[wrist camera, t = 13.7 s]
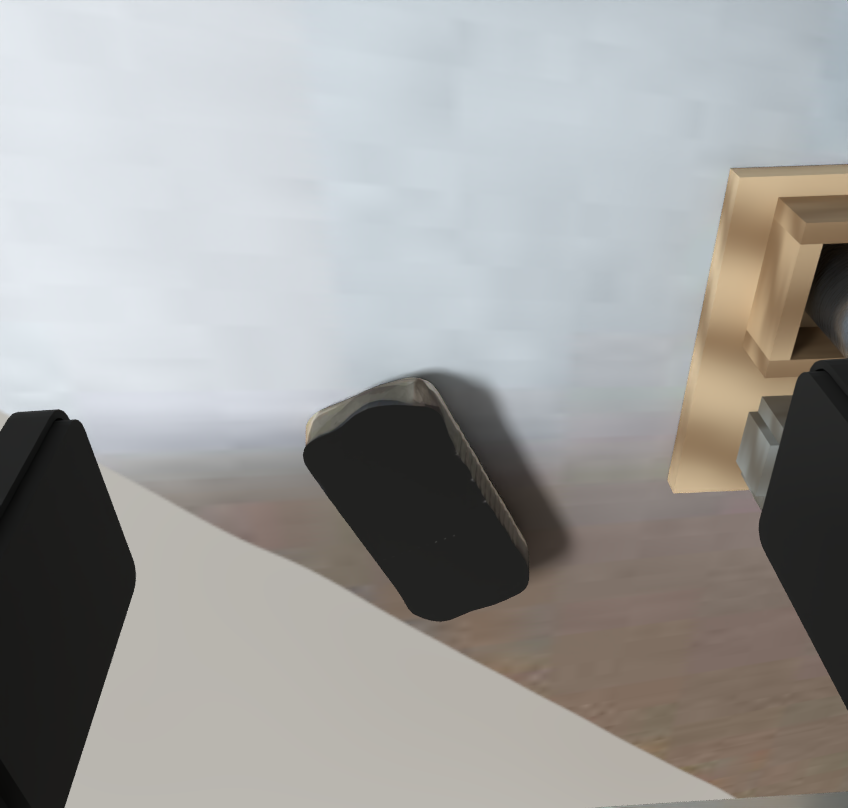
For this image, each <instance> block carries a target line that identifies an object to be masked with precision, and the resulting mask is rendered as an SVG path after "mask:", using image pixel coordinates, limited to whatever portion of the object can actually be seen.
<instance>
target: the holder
mask: <svg viewBox="0 0 848 808" xmlns="http://www.w3.org/2000/svg"><path fill="white" fill-rule="evenodd" d="M833 243H848V164H844V165H815V166H787V167H758V168H731V169H730V174H729V178H728V183H727V188H726V193H725V198H724V203H723V208H722V213H721V218H720V223H719V228H718V233H717V238H716V243H715V248H714V253H713V258H712V262H711V267H710V272H709V277H708V282H707V287H706V292H705V297H704V302H703V307H702V312H701V317H700V322H699V327H698V332H697V337H696V342H695V347H694V351H693V356H692V361H691V366H690V371H689V376H688V381H687V386H686V391H685V396H684V401H683V406H682V411H681V416H680V421H679V426H678V431H677V436H676V440H675V445H674V450H673V455H672V460H671V465H670V470H669V475H668V482H669V484H670V487H671V489H672V491H673V493H692V492H714V491H736V490H750V491H751V493H752V495H753V497H754V499H755V500H756V502H757V504H758V506H759V507H760V509H761V510H762V509H763V505H764V501H765V497H766V494H767V490H768V486H769V482H770V479H771V475H772V471H773V467H774V463H775V460H776V456H777V452H778V448H779V445H780V441H781V437H782V433H783V429H784V426H785V422H786V418H787V414H788V411H789V407H790V403H791V399H792V395H793V392H794V388H795V384H796V381H797V379H798V377H799V375H800V374H801V373H803V372H809V371H810V368H811V366H812V365H813V364H814V363H815V362H816V361H819V360H827V359H843V358H845V357H844V356H843V355H842V353H841V352H840V351H839V350H838V349H837V348H836V347H835V345H834V344H833V343H832V342H831V341H830V340H829V338H828V337H827V336H826V335H825V334H824V333H823V331H822V330H821V329H820V328H819V327H818V326H817V325H816V323H815V322H814V321H813V320H812V319H811V318H810V316H809V315H808V314H807V313H806V312H805V311H804V309H805V306H806V302H807V299H808V295H809V292H810V288H811V285H812V281H813V278H814V274H815V271H816V267H817V264H818V260H819V257H820V253H821V250H822V246H823V244H833Z"/></svg>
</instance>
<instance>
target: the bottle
mask: <svg viewBox="0 0 848 808" xmlns="http://www.w3.org/2000/svg"><path fill="white" fill-rule="evenodd" d="M804 311H805V312H806V313H807V314H808V315H809V316H810V318H811V319H812V320H813V321H814V322H815V323H816V325H817V326H818V327H819V328H820V329H821V330H822V331H823V333H824V334H825V335H826V336H827V337H828V338H829V340H830V341H831V342H832V343H833V344H834V345H835V347H836V348H837V349H838V350H839V351H840V352H841V353H842V355H843V356H844V357H845V358H848V243H833V244H823V246H822V250H821V253H820V257H819V260H818V264H817V267H816V271H815V274H814V278H813V281H812V285H811V288H810V292H809V295H808V299H807V302H806V306H805V309H804Z"/></svg>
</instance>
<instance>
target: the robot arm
mask: <svg viewBox="0 0 848 808" xmlns="http://www.w3.org/2000/svg"><path fill="white" fill-rule="evenodd" d="M759 536H760V541H761V544H762V547H763V549H764V551H765V553H766V555H767V557H768V559H769V561H770V563H771V565H772V566H773V568H774V570H775V572H776V574H777V576H778V578H779V580H780V582H781V584H782V586H783V587H784V589H785V591H786V593H787V595H788V597H789V599H790V601H791V603H792V605H793V607H794V608H795V610H796V612H797V614H798V616H799V618H800V620H801V622H802V624H803V626H804V628H805V629H806V631H807V633H808V635H809V637H810V639H811V641H812V643H813V645H814V647H815V649H816V651H817V652H818V654H819V656H820V658H821V660H822V662H823V664H824V666H825V668H826V670H827V672H828V673H829V675H830V677H831V679H832V681H833V683H834V685H835V687H836V689H837V691H838V693H839V694H840V696H841V698H842V700H843V702H844V704H845V706H846V708H847V710H848V358H843V359H827V360H819V361H816V362H815V363H814V364H813V365H812V366H811V368H810V371H809V372H803V373H801V374H800V375H799V377H798V379H797V381H796V384H795V388H794V392H793V395H792V399H791V403H790V407H789V411H788V414H787V418H786V422H785V426H784V429H783V433H782V437H781V441H780V445H779V448H778V452H777V456H776V460H775V463H774V467H773V471H772V475H771V479H770V482H769V486H768V490H767V494H766V497H765V501H764V505H763V509H762V513H761V516H760V521H759ZM135 581H136V572H135V565H134V561H133V558H132V555H131V553H130V550H129V547H128V545H127V542H126V540H125V537H124V534H123V531H122V528H121V526H120V523H119V520H118V518H117V515H116V512H115V510H114V507H113V504H112V502H111V499H110V496H109V493H108V491H107V488H106V485H105V483H104V480H103V477H102V475H101V472H100V469H99V467H98V464H97V461H96V458H95V456H94V453H93V450H92V448H91V445H90V442H89V440H88V437H87V434H86V432H85V429H84V427H83V425H82V423H81V422H80V421H79V420H70V419H69V417H68V416H67V414H66V413H65V412H64V411H62V410H59V409H58V410H43V411H28V412H17V413H14V414H12V415H11V416H10V417H9V418H8V420H7V422H6V423H5V425H4V426H3V428H2V429H1V431H0V808H64V807H65V804H66V801H67V798H68V795H69V792H70V788H71V785H72V782H73V779H74V776H75V773H76V770H77V766H78V763H79V760H80V757H81V754H82V751H83V748H84V745H85V742H86V738H87V736H88V732H89V729H90V726H91V723H92V720H93V717H94V713H95V711H96V707H97V704H98V701H99V698H100V695H101V692H102V689H103V685H104V682H105V679H106V676H107V673H108V669H109V667H110V664H111V661H112V657H113V654H114V651H115V648H116V645H117V642H118V638H119V636H120V632H121V629H122V626H123V623H124V620H125V617H126V614H127V611H128V607H129V604H130V601H131V598H132V595H133V592H134V588H135ZM598 808H848V792H834V793H818V794H802V795H786V796H770V797H754V798H738V799H722V800H708V801H707V800H706V801H691V802H675V803H659V804H643V805H627V806H613V807H598Z"/></svg>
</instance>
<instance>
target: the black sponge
mask: <svg viewBox="0 0 848 808" xmlns="http://www.w3.org/2000/svg"><path fill="white" fill-rule="evenodd" d="M303 458H304V462H305V465H306V466H307V468H308V469H309V471H310V472H311V474H312V475H313V477H314V478H315V479H316V481H317V482H318V483H319V485H320V486H321V488H322V489H323V491H324V492H325V494H326V495H327V496H328V498H329V499H330V500H331V501H332V503H333V504H334V505H335V507H336V508H337V510H338V511H339V513H340V514H341V515H342V517H343V518H344V519H345V521H346V522H347V523H348V525H349V526H350V527H351V529H352V530H353V531H354V533H355V534H356V535H357V537H358V538H359V539H360V541H361V542H362V543H363V545H364V546H365V547H366V549H367V550H368V551H369V553H370V554H371V555H372V557H373V558H374V559H375V561H376V562H377V564H378V565H379V566H380V568H381V569H382V570H383V572H384V573H385V574H386V576H387V577H388V578H389V580H390V581H391V582H392V584H393V585H394V586H395V588H396V589H397V591H398V592H399V594H400V595H401V597H402V598H403V600H404V602H405V604H406V605H407V607H408V609H409V610H410V611H411V612H412V613H413V614H415V615H417V616H419V617H422V618H424V619H428V620H431V621H440V622H442V621H447V620H451V619H454V618H456V617H458V616H461V615H463V614H466V613H468V612H470V611H473V610H477V609H481V608H484V607H488V606H491V605H494V604H497V603H499V602H502V601H504V600H507V599H509V598H511V597H513V596H515V595H517V594H519V593H521V592H522V591H523V590H524V589H525V588H526V587H527V585H528V581H529V553H528V548H527V544H526V541H525V539H524V538H523V536H522V534H521V532H520V531H519V529H518V527H517V526H516V524H515V522H514V520H513V518H512V516H511V515H510V513H509V511H508V510H507V508H506V506H505V504H504V502H503V501H502V499H501V498H500V496H499V495H498V493H497V491H496V489H495V488H494V487H493V485H492V483H491V481H490V480H489V478H488V476H487V474H486V473H485V472H484V470H483V467H482V466H481V464H480V463H479V461H478V458H477V456H476V455H475V453H474V451H473V450H472V449H471V447H470V445H469V443H468V441H467V440H466V439H465V437H464V434H463V433H462V432H461V430H460V428H459V425H458V424H457V423H456V422H455V421H454V419H453V417H452V415H451V413H450V411H449V410H448V408H447V406H446V404H445V403H444V401H443V399H442V397H441V396H440V394H439V392H438V391H437V390H436V388H435V387H434V386H433V385H432V384H431V383H430V382H428V381H427V380H423V379H421V378H404V379H400V380H396V381H392V382H389V383H385V384H381V385H379V386H376V387H374V388H372V389H369V390H367V391H364V392H362V393H360V394H359V395H356V396H354V397H351V398H349V399H347V400H345V401H342V402H340V403H337V404H334V405H332V406H329V407H327V408H325V409H322V410H320V411H318V412H317V413H316V414H314V415H313V416H312V417H311V419H310V420H309V421H308V423H307V425H306V447H305V449H304V452H303Z"/></svg>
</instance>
